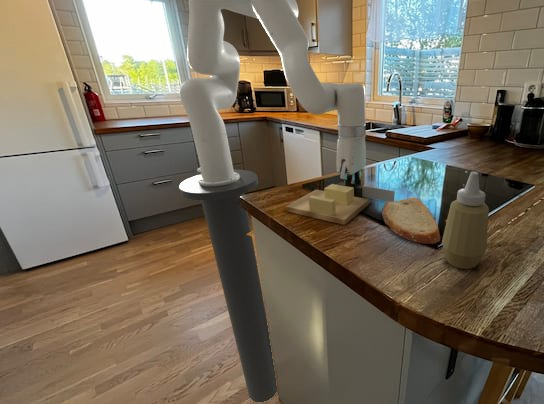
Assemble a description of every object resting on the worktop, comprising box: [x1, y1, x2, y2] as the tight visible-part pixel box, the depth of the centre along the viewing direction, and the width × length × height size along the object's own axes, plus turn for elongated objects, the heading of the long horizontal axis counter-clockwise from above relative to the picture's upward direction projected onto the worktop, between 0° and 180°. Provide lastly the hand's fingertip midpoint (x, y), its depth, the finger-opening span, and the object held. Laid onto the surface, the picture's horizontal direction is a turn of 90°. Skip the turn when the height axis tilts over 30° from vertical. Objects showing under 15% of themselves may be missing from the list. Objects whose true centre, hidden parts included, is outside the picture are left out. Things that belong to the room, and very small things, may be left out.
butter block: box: [323, 183, 354, 205], centre depth 82 cm, size 7×4×4 cm, turn 63°
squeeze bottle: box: [441, 171, 490, 270], centre depth 54 cm, size 8×8×18 cm
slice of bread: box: [381, 197, 441, 245], centre depth 73 cm, size 18×18×4 cm
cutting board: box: [285, 189, 370, 226], centre depth 81 cm, size 18×14×2 cm
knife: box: [336, 181, 396, 202], centre depth 87 cm, size 18×2×4 cm, turn 63°
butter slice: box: [309, 196, 336, 216], centre depth 75 cm, size 7×2×4 cm, turn 63°
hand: (353, 193), depth 89 cm, fingers closed on knife, 2 cm apart
